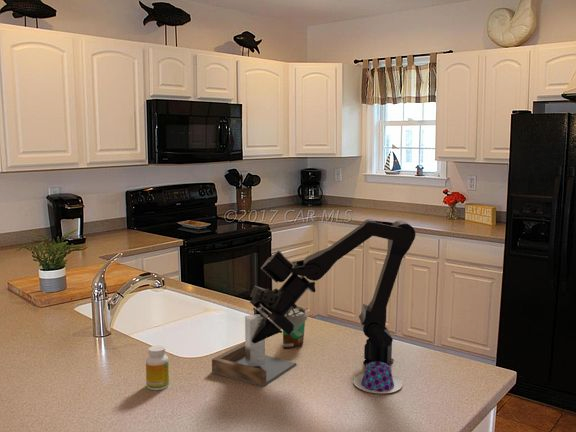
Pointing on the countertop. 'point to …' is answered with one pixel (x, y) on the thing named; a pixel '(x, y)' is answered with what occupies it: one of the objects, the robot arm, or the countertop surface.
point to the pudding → (377, 379)
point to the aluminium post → (252, 351)
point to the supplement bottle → (157, 368)
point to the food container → (295, 328)
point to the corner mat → (266, 368)
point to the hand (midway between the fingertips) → (250, 339)
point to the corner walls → (237, 366)
